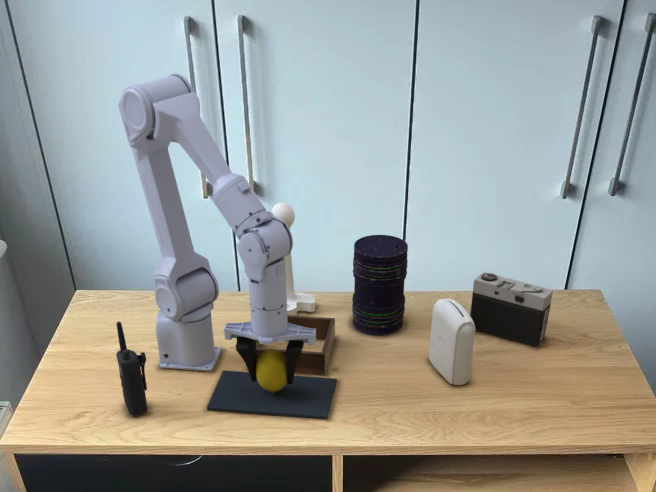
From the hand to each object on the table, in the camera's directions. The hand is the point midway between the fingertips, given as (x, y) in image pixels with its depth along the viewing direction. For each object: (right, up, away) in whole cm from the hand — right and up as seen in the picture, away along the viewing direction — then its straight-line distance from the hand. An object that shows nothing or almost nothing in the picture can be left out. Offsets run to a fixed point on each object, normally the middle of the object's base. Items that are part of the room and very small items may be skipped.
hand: (272, 379), depth 142 cm
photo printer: (+30, +3, +8) cm, 32 cm away
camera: (+43, +14, +19) cm, 50 cm away
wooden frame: (+3, +8, +12) cm, 15 cm away
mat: (0, -2, +2) cm, 3 cm away
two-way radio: (-22, -5, -1) cm, 22 cm away
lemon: (0, -2, +2) cm, 3 cm away
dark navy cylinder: (+18, +16, +21) cm, 32 cm away
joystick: (+1, +19, +24) cm, 30 cm away
